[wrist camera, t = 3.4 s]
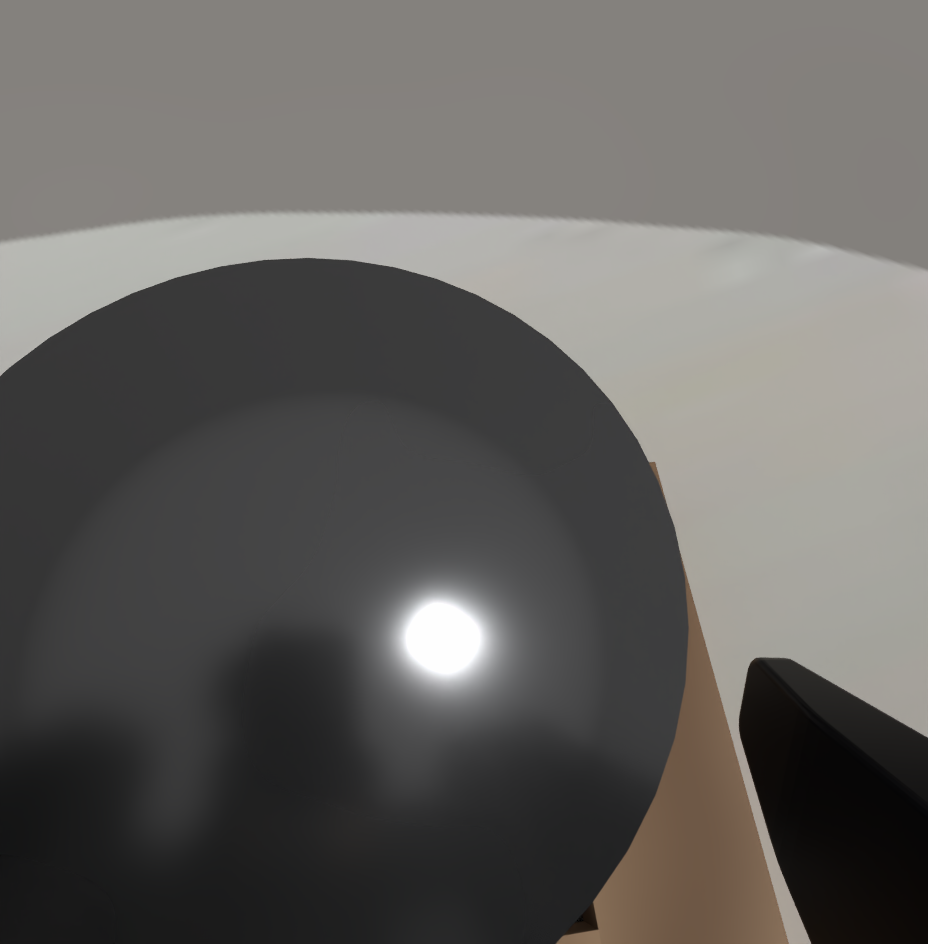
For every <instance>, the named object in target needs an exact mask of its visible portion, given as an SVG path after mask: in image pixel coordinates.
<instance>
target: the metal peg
mask: <svg viewBox="0 0 928 944" xmlns="http://www.w3.org/2000/svg"><path fill="white" fill-rule="evenodd" d="M688 633H689V625H688V612H687V598H686V585H685V575H684V570H683V565H682V560H681V556H680V551H679V546H678V541H677V537H676V532H675V527H674V524H673V522H672V519H671V516H670V513H669V510H668V507H667V505H666V502H665V499H664V496H663V493H662V490H661V487H660V485H659V482H658V480H657V478H656V476H655V474H654V472H653V470H652V468H651V466H650V464H649V462H648V460H647V458H646V456H645V454H644V452H643V450H642V448H641V446H640V444H639V442H638V440H637V439H636V437H635V436H634V434H633V433H632V431H631V430H630V428H629V427H628V425H627V424H626V423H625V421H624V420H623V418H622V417H621V415H620V414H619V412H618V411H617V409H616V408H615V406H614V405H613V403H612V402H611V401H610V400H609V399H608V397H607V396H606V395H605V394H604V393H603V392H602V391H601V389H600V388H599V387H598V386H597V385H596V384H595V383H594V382H593V380H592V379H591V378H590V377H589V376H588V375H587V374H586V372H585V371H584V370H583V369H582V368H581V367H580V366H579V365H577V364H576V363H575V362H574V361H573V360H572V359H571V358H570V357H568V356H567V355H566V354H565V353H564V352H563V351H562V350H561V349H559V348H558V347H557V346H556V345H555V344H554V343H553V342H552V341H550V340H549V339H548V338H546V337H545V336H543V335H542V334H541V333H539V332H538V331H536V330H535V329H533V328H532V327H531V326H529V325H528V324H526V323H525V322H523V321H522V320H520V319H519V318H518V317H516V316H515V315H513V314H511V313H509V312H507V311H506V310H504V309H502V308H500V307H498V306H496V305H494V304H492V303H491V302H489V301H487V300H485V299H483V298H481V297H479V296H478V295H475V294H473V293H470V292H468V291H465V290H463V289H460V288H458V287H455V286H453V285H450V284H448V283H445V282H443V281H440V280H438V279H435V278H431V277H427V276H424V275H420V274H417V273H413V272H409V271H406V270H402V269H398V268H395V267H389V266H382V265H376V264H370V263H364V262H358V261H351V260H333V259H316V258H300V259H278V260H262V261H255V262H248V263H242V264H235V265H228V266H221V267H217V268H213V269H209V270H205V271H201V272H197V273H193V274H189V275H185V276H181V277H177V278H174V279H171V280H168V281H166V282H163V283H160V284H157V285H154V286H152V287H149V288H146V289H143V290H140V291H138V292H135V293H132V294H130V295H128V296H126V297H124V298H122V299H120V300H117V301H115V302H113V303H111V304H109V305H107V306H105V307H103V308H101V309H99V310H96V311H94V312H92V313H90V314H88V315H87V316H85V317H83V318H82V319H80V320H78V321H77V322H75V323H73V324H72V325H70V326H68V327H67V328H65V329H63V330H62V331H60V332H59V333H57V334H55V335H54V336H52V337H50V338H49V339H47V340H46V341H45V342H43V343H42V344H41V345H39V346H38V347H37V348H35V349H34V350H33V351H31V352H30V353H29V354H27V355H26V356H25V357H23V358H22V359H21V360H19V361H18V362H17V363H15V364H14V365H13V366H11V367H10V368H9V369H8V370H6V371H5V372H4V373H3V374H2V375H1V376H0V944H556V943H557V942H558V941H559V940H560V938H561V937H562V936H563V935H564V934H565V933H566V932H567V931H568V930H569V928H570V927H571V926H572V925H573V924H574V923H575V922H576V921H577V920H578V918H579V917H580V916H581V915H582V914H583V913H584V912H585V911H586V910H587V908H588V907H589V906H590V905H591V904H592V903H593V901H594V900H595V898H596V897H597V895H598V894H599V892H600V891H601V890H602V888H603V887H604V885H605V884H606V882H607V881H608V879H609V878H610V876H611V875H612V873H613V872H614V870H615V869H616V867H617V866H618V864H619V863H620V862H621V860H622V859H623V857H624V856H625V854H626V853H627V851H628V850H629V848H630V846H631V844H632V842H633V840H634V837H635V835H636V833H637V831H638V829H639V827H640V825H641V823H642V821H643V819H644V817H645V815H646V813H647V811H648V809H649V807H650V805H651V803H652V801H653V799H654V797H655V795H656V792H657V789H658V787H659V784H660V781H661V778H662V775H663V772H664V769H665V766H666V763H667V760H668V757H669V754H670V751H671V748H672V745H673V742H674V739H675V735H676V729H677V724H678V719H679V714H680V709H681V704H682V699H683V693H684V688H685V683H686V667H687V650H688Z"/></svg>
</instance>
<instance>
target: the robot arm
mask: <svg viewBox="0 0 928 944" xmlns="http://www.w3.org/2000/svg"><path fill="white" fill-rule="evenodd" d="M739 732H740V738H741V741H742V745H743V748H744V752H745V755H746V758H747V762H748V765H749V768H750V772H751V775H752V779H753V782H754V785H755V789H756V792H757V796H758V799H759V802H760V806H761V809H762V812H763V816H764V819H765V823H766V826H767V829H768V833H769V836H770V839H771V843H772V846H773V849H774V852H775V855H776V858H777V861H778V864H779V866H780V869H781V871H782V874H783V876H784V879H785V882H786V884H787V886H788V889H789V891H790V894H791V896H792V898H793V901H794V903H795V906H796V908H797V910H798V913H799V915H800V917H801V920H802V922H803V925H804V927H805V929H806V932H807V934H808V937H809V939H810V941H811V944H928V738H927V737H926V736H924V735H922V734H920V733H919V732H917V731H915V730H913V729H912V728H910V727H908V726H906V725H905V724H903V723H901V722H899V721H898V720H896V719H894V718H892V717H891V716H889V715H887V714H885V713H884V712H882V711H880V710H878V709H877V708H875V707H873V706H871V705H870V704H868V703H866V702H865V701H863V700H861V699H859V698H858V697H856V696H854V695H852V694H851V693H849V692H847V691H845V690H844V689H842V688H840V687H838V686H837V685H835V684H833V683H831V682H830V681H828V680H826V679H824V678H823V677H821V676H819V675H817V674H816V673H814V672H812V671H810V670H809V669H807V668H805V667H803V666H802V665H800V664H798V663H796V662H795V661H793V660H791V659H787V658H755V659H754V660H753V661H752V662H751V663H750V666H749V668H748V672H747V677H746V683H745V688H744V693H743V699H742V704H741V710H740V715H739Z"/></svg>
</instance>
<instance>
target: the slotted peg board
mask: <svg viewBox="0 0 928 944" xmlns="http://www.w3.org/2000/svg"><path fill="white" fill-rule="evenodd" d="M649 464H650V466H651V468H652V470H653V472H654V474H655V476H656V478H657V480H658V482H659V485H660V487H661V490H662V493H663V489H662V486H661V482H660V478H659V475H658V471H657V468H656V464H655V462H650V463H649ZM663 496H664V493H663ZM664 499H665V496H664ZM665 502H666V500H665ZM666 505H667V504H666ZM679 551H680V550H679ZM680 556H681V554H680ZM681 560H682V558H681ZM682 565H683V561H682ZM683 570H684V575H685V585H686V598H687V612H688V625H689V633H688V650H687V667H686V683H685V688H684V693H683V699H682V704H681V709H680V714H679V719H678V724H677V729H676V735H675V739H674V742H673V745H672V748H671V751H670V754H669V757H668V760H667V763H666V766H665V769H664V772H663V775H662V778H661V781H660V784H659V787H658V789H657V792H656V795H655V797H654V799H653V801H652V803H651V805H650V807H649V809H648V811H647V813H646V815H645V817H644V819H643V821H642V823H641V825H640V827H639V829H638V831H637V833H636V835H635V837H634V840H633V842H632V844H631V846H630V848H629V850H628V851H627V853H626V854H625V856H624V857H623V859H622V860H621V862H620V863H619V864H618V866H617V867H616V869H615V870H614V872H613V873H612V875H611V876H610V878H609V879H608V881H607V882H606V884H605V885H604V887H603V888H602V890H601V891H600V892H599V894H598V895H597V897H596V898H595V900H594V901H593V903H592V904H591V905H590V906H589V907H588V908H587V910H586V911H585V912H584V913H583V914H582V916H583V921H581V922H575V923H574V924H573V925H572V926H571V927H570V928H569V930H568V931H567V932H566V933H565V934H564V935H563V936H562V937H561V938H560V940H559V941H558V942H557V943H556V944H789V943H788V939H787V936H786V932H785V929H784V925H783V921H782V918H781V914H780V911H779V907H778V903H777V900H776V896H775V893H774V889H773V885H772V882H771V878H770V875H769V871H768V867H767V864H766V860H765V857H764V853H763V849H762V846H761V842H760V839H759V835H758V831H757V828H756V824H755V821H754V817H753V813H752V810H751V806H750V803H749V799H748V795H747V792H746V788H745V785H744V781H743V777H742V774H741V770H740V766H739V763H738V759H737V756H736V752H735V748H734V745H733V741H732V738H731V734H730V730H729V727H728V723H727V720H726V716H725V712H724V709H723V705H722V702H721V698H720V694H719V691H718V687H717V684H716V680H715V676H714V673H713V669H712V666H711V662H710V658H709V655H708V651H707V648H706V644H705V640H704V637H703V633H702V630H701V626H700V622H699V619H698V615H697V612H696V608H695V604H694V601H693V597H692V594H691V590H690V586H689V583H688V579H687V576H686V572H685V568H684V565H683Z"/></svg>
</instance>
